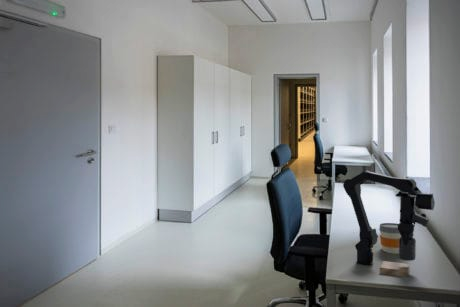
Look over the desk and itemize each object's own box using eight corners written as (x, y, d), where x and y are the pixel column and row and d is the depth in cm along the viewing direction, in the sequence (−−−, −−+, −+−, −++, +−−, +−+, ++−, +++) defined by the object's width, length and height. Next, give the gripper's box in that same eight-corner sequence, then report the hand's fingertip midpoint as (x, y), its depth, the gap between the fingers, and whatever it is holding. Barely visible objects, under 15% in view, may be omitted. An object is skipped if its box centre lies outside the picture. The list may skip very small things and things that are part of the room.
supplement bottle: (410, 256, 182) (411, 229, 181) (418, 261, 175) (419, 233, 174) (395, 256, 181) (396, 229, 181) (402, 260, 174) (403, 233, 174)
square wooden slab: (379, 274, 177) (379, 267, 177) (382, 267, 187) (382, 261, 187) (407, 278, 172) (407, 270, 172) (409, 270, 182) (409, 264, 182)
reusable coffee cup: (410, 258, 200) (410, 227, 199) (384, 258, 200) (384, 227, 199) (400, 251, 212) (400, 222, 212) (375, 251, 212) (375, 222, 212)
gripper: (427, 212, 166) (426, 250, 166) (428, 206, 182) (427, 240, 183) (398, 210, 170) (397, 247, 171) (401, 204, 187) (400, 237, 188)
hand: (406, 243), depth 178 cm, fingers closed on supplement bottle, 7 cm apart
